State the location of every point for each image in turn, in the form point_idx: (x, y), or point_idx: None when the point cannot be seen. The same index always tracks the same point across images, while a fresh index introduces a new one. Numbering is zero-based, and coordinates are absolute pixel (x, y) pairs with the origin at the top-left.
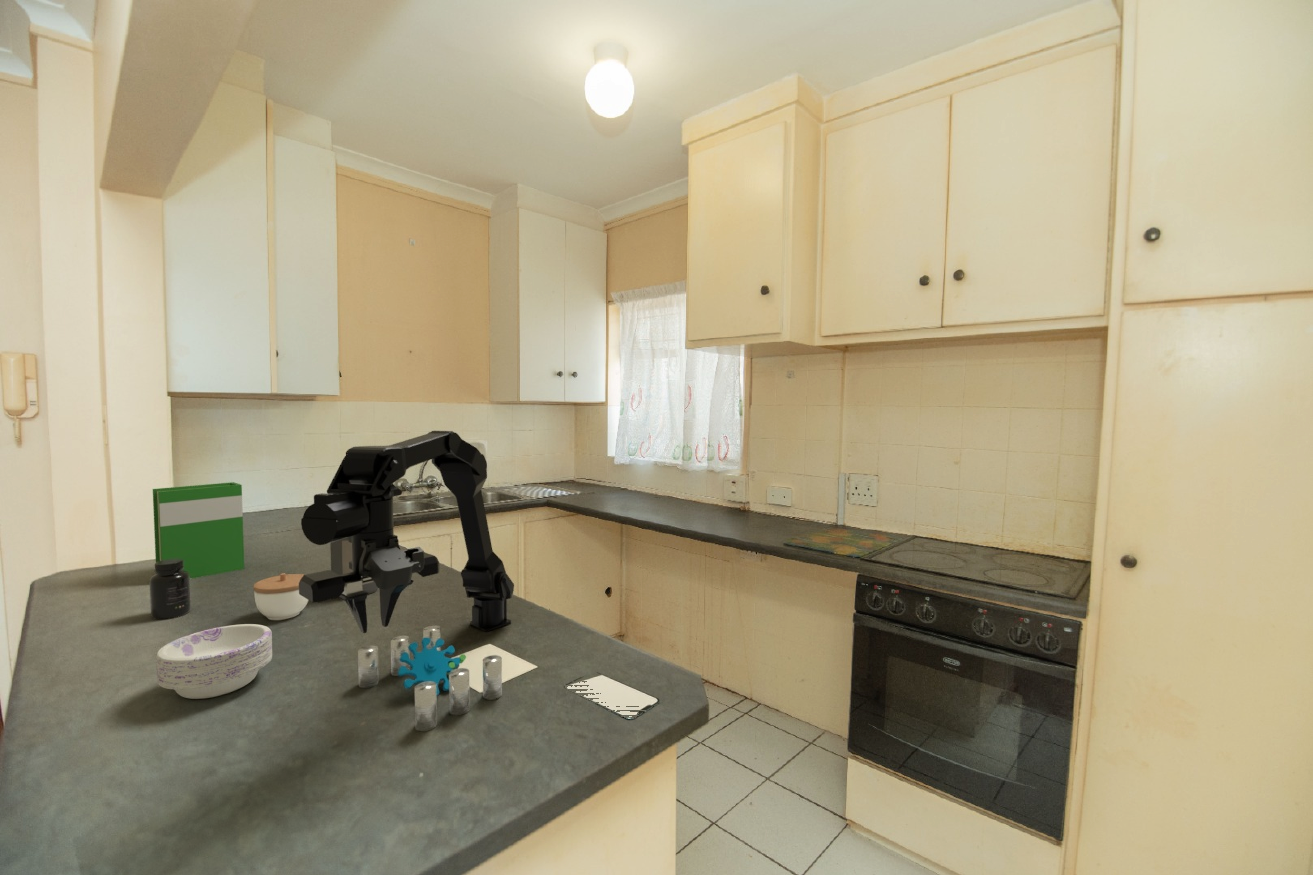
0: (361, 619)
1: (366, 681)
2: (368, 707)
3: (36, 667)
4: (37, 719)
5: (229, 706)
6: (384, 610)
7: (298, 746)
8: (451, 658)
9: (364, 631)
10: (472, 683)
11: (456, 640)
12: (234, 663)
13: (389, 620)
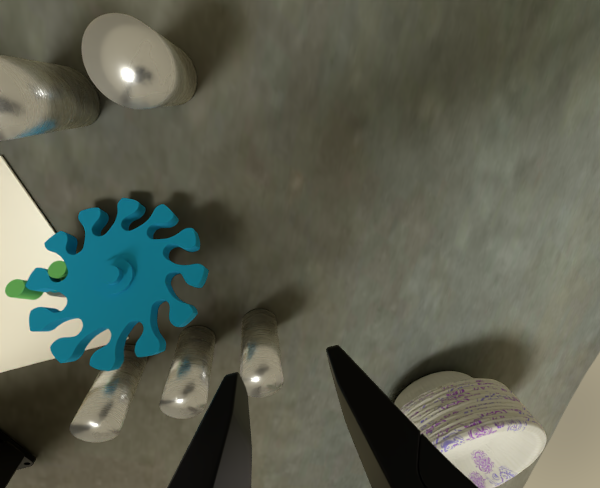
0: (387, 403)
1: (266, 318)
2: (275, 239)
3: (525, 473)
4: (566, 390)
5: (439, 342)
6: (234, 473)
7: (409, 168)
8: (50, 288)
9: (338, 350)
10: (26, 215)
11: (70, 411)
12: (463, 409)
13: (213, 399)
